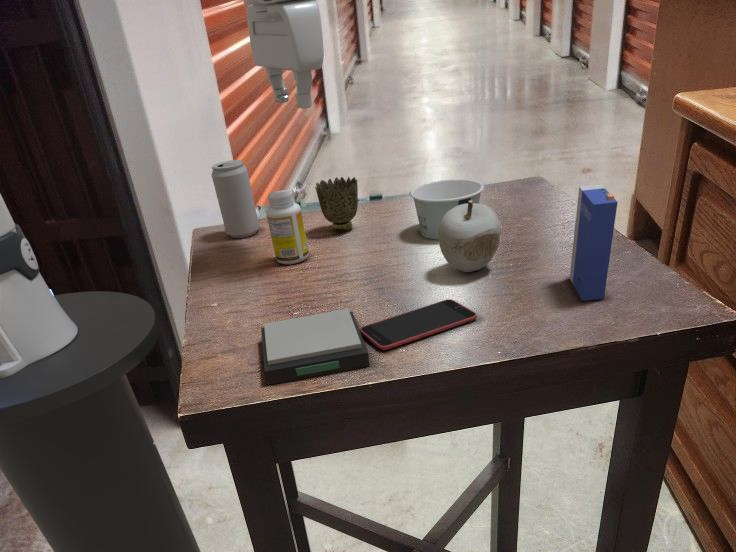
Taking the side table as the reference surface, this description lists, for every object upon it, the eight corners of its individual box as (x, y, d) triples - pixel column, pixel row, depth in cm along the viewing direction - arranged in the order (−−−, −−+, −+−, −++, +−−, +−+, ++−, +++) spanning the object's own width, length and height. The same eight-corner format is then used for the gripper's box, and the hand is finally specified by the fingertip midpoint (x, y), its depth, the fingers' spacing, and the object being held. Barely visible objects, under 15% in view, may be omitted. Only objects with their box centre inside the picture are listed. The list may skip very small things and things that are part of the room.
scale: (268, 385, 70) (263, 367, 69) (264, 340, 80) (259, 323, 78) (369, 366, 71) (367, 348, 70) (354, 324, 80) (351, 306, 79)
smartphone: (480, 314, 77) (382, 348, 73) (480, 319, 77) (382, 352, 73) (450, 297, 82) (356, 327, 78) (450, 301, 82) (357, 332, 78)
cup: (361, 234, 108) (355, 185, 102) (320, 238, 109) (312, 190, 103) (364, 221, 113) (358, 174, 108) (325, 225, 114) (318, 178, 109)
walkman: (604, 299, 78) (618, 198, 70) (581, 301, 78) (593, 200, 70) (590, 275, 84) (601, 180, 76) (569, 277, 84) (578, 182, 76)
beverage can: (232, 229, 119) (215, 160, 111) (264, 226, 118) (249, 157, 110) (223, 240, 114) (204, 169, 106) (256, 237, 113) (239, 166, 105)
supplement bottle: (299, 250, 105) (287, 186, 98) (315, 258, 101) (304, 191, 94) (270, 260, 103) (256, 195, 96) (286, 268, 99) (272, 200, 92)
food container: (401, 229, 107) (398, 189, 103) (461, 214, 110) (461, 174, 106) (432, 248, 99) (430, 204, 94) (497, 231, 101) (497, 188, 97)
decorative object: (471, 255, 94) (471, 185, 88) (512, 268, 89) (515, 194, 82) (427, 272, 91) (423, 200, 85) (466, 287, 85) (465, 212, 79)
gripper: (229, -9, 89) (251, 102, 98) (277, -17, 74) (298, 115, 83) (270, -15, 91) (288, 95, 99) (324, -23, 76) (339, 107, 85)
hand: (293, 105), depth 91 cm, fingers open, 8 cm apart
